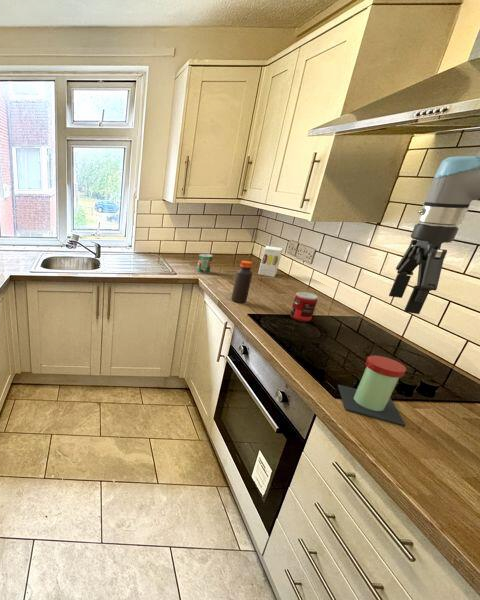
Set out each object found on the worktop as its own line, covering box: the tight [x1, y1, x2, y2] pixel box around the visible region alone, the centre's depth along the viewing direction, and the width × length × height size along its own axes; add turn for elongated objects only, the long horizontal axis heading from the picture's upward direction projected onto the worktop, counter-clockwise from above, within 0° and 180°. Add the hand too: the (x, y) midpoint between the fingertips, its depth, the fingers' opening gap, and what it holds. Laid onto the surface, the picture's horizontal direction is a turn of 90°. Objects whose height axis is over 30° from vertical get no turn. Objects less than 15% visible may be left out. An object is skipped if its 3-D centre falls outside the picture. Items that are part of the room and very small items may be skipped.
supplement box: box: [257, 245, 284, 278], centre depth 195 cm, size 10×9×17 cm
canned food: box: [289, 291, 319, 323], centre depth 137 cm, size 8×8×11 cm
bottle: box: [231, 260, 254, 304], centre depth 153 cm, size 7×7×20 cm
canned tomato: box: [196, 253, 213, 275], centre depth 200 cm, size 8×8×11 cm
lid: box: [364, 355, 407, 379], centre depth 83 cm, size 8×8×2 cm
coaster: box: [337, 384, 406, 427], centre depth 87 cm, size 12×12×1 cm
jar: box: [354, 365, 401, 411], centre depth 85 cm, size 7×7×12 cm
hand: (402, 304), depth 86 cm, fingers open, 12 cm apart
